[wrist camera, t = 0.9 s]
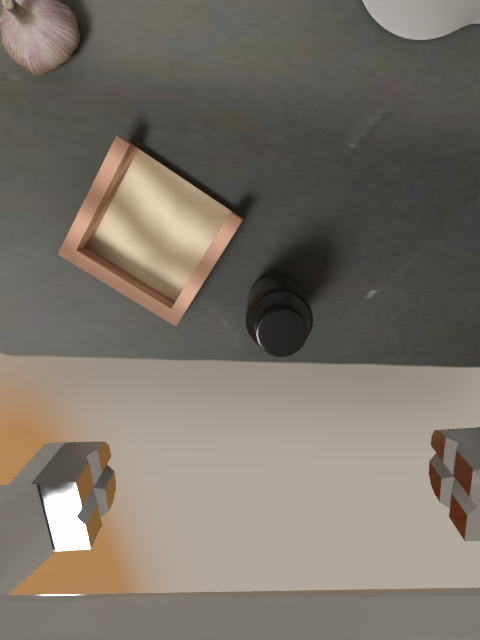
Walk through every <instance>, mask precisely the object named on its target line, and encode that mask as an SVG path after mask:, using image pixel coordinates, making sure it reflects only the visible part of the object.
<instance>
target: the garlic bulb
mask: <svg viewBox="0 0 480 640" xmlns="http://www.w3.org/2000/svg"><path fill="white" fill-rule="evenodd" d="M2 3H3V8H2V13H1V16H0V28H1V39H2V43H3V45H4V47H5V49H6V50H7V52H8V54H9V55H10V57H11V58H12V59H13V60H14V61H15V62H16V63H18V64H20V65H22V66H24V67H25V68H26V69H27V70H28V71H30V72H31V73H33V74H35V75H44V74H47V73H48V72H49V71H53V70H55V69H57V68H58V67H59V66H60V64H62V63H64V62H66V61H68V60H69V59H70V57H71V56H72V53H73V51H74V50H75V49H76V48H77V47H78V45H79V42H80V33H79V29H78V22H77V18H76V16H75V14H74V12H73V11H72V10H71V9H70V8H69V7H68V6H66V5H65V4H63V3H61V2H60V1H59V0H2Z"/></svg>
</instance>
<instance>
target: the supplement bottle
mask: <svg viewBox="0 0 480 640" xmlns="http://www.w3.org/2000/svg"><path fill="white" fill-rule="evenodd" d="M312 325H313V315H312V311H311V308H310V305H309V303H308V301H307V299H306V297H305V295H304V293H303V291H302V289H301V288H300V286H299V285H298V283H297V282H296V281H294V280H293V279H292V278H290V277H288V276H285V275H281V274H271V275H267V276H265V277H263V278H261V279H259V280H258V281H257V282H256V283H255V284H254V285H253V287H252V288H251V290H250V292H249V296H248V301H247V311H246V327H247V330H248V333H249V335H250V337H251V338H252V340H253V341H254V342H255V343H256V344H257V345H258V346H260V347H261V348H262V349H263V350H264V351H266V352H267V353H268V354H271V355H272V356H276V357H279V356H280V357H284V356H285V357H287V356H289V355H292V354H293V353H296V352H297V351H298V350H300V348H301V347H302V346H303V344H304V343H305V340H306V339H307V337H308V336H309V334H310V332H311V329H312Z"/></svg>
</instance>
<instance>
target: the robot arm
mask: <svg viewBox="0 0 480 640" xmlns="http://www.w3.org/2000/svg"><path fill="white" fill-rule="evenodd" d="M362 1H363V3H364V5H365V7H366V8H367V10H368V12H369V13H370V14H371V16H372V17H373V18H374V19H375V20H376V21H377V22H378V23H379V24H380V25H381V26H382V27H383V28H385V29H386V30H388V31H389V32H391V33H393V34H395V35H398V36H400V37H403V38H407V39H414V40H428V39H434V38H438V37H441V36H444V35H447V34H449V33H452V32H454V31H456V30H458V29H460V28H462V27H464V26H466V25H469V24H480V0H362ZM431 446H432V448H433V449H434V450H435V452H436V454H435V455H434V456H433V457H432V459H431V460H430V462H429V477H430V482H431V486H432V489H433V491H434V494H435V495H436V497H437V498H438V500H439V502H441V503H442V504H444V505H445V506H447V507H449V508H450V513H449V517H450V519H451V521H452V522H453V524H454V525H455V527H456V528H457V530H458V531H459V533H460V534H461V536H462V537H463V539H464V541H480V427H477V428H463V429H447V430H434V432H433V434H432V438H431ZM110 458H111V453H110V448H109V445H108V444H107V443H106V442H69V443H66V442H59V443H48V444H45V445H44V446H43V447H42V448H41V449H40V450H39V451H38V452H37V453H36V454H35V456H34V457H33V458H32V459H31V460H30V461H29V462H28V463H27V464H26V466H25V467H24V468H23V469H22V470H21V471H20V472H19V473H18V475H17V476H16V477H15V478H14V479H13V480H12V481H11V482H10V484H8V485H1V486H0V640H480V588H433V589H432V588H431V589H367V590H366V589H365V590H307V591H252V592H195V593H194V592H193V593H128V594H67V595H66V594H65V595H8V594H9V593H10V592H11V591H12V590H13V589H14V588H15V587H17V586H18V585H19V584H20V583H21V582H22V581H23V580H25V579H26V578H27V577H28V576H29V575H30V574H31V573H32V572H33V571H34V570H36V569H37V568H38V567H39V566H40V565H41V564H42V563H43V562H45V561H46V560H47V559H48V558H49V557H50V556H51V555H52V554H53V553H54V551H64V550H81V549H82V550H83V549H91V547H92V545H93V543H94V541H95V539H96V537H97V535H98V533H99V530H100V528H101V526H102V523H101V518H100V517H102V516H103V515H104V514H106V513H107V512H108V511H109V510H110V508H111V505H112V503H113V500H114V495H115V490H116V480H115V474H114V471H113V470H112V469H111V468H110V467H109V466H108V465H107V463H108V461H109V460H110Z"/></svg>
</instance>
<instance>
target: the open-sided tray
mask: <svg viewBox="0 0 480 640" xmlns="http://www.w3.org/2000/svg"><path fill="white" fill-rule="evenodd" d="M242 221H243V218H241V217H240V216H238V215H237V214H235V213H234V212H232V211H231V210H229V209H228V208H226V207H225V206H224V205H222V204H221V203H219V202H218V201H216V200H215V199H213V198H212V197H210V196H209V195H207V194H206V193H204V192H203V191H201V190H200V189H198V188H197V187H195V186H194V185H192V184H191V183H189V182H188V181H186V180H185V179H183V178H182V177H180V176H179V175H177V174H176V173H174V172H173V171H171V170H170V169H168V168H167V167H165V166H164V165H162V164H161V163H159V162H158V161H156V160H155V159H153V158H152V157H151V156H149V155H148V154H146V153H145V152H143V151H142V150H140V149H139V148H137V147H136V146H134V145H133V144H131V143H130V142H128V141H126V140H124V139H122V138H120V137H118V136H116V138H115V140H114V142H113V144H112V146H111V148H110V150H109V152H108V154H107V156H106V158H105V160H104V162H103V164H102V166H101V168H100V170H99V172H98V174H97V176H96V178H95V180H94V182H93V184H92V186H91V188H90V190H89V192H88V194H87V196H86V198H85V200H84V202H83V204H82V206H81V208H80V210H79V213H78V215H77V217H76V219H75V221H74V223H73V225H72V227H71V229H70V231H69V233H68V235H67V237H66V239H65V241H64V243H63V245H62V247H61V249H60V251H59V253H58V255H60V256H62V257H63V258H65V259H67V260H68V261H70V262H71V263H73V264H75V265H76V266H78V267H80V268H81V269H83V270H84V271H86V272H88V273H89V274H91V275H93V276H94V277H96V278H98V279H99V280H101V281H102V282H104V283H106V284H107V285H109V286H111V287H112V288H114V289H115V290H117V291H119V292H120V293H122V294H124V295H125V296H127V297H129V298H130V299H132V300H133V301H135V302H137V303H138V304H140V305H142V306H143V307H145V308H146V309H148V310H150V311H151V312H153V313H155V314H156V315H158V316H160V317H161V318H163V319H164V320H166V321H168V322H169V323H171V324H173V325H174V326H177V324H178V323H179V321H180V320H181V318H182V317H183V315H184V313H185V312H186V310H187V309H188V307H189V305H190V304H191V302H192V301H193V299H194V297H195V296H196V294H197V293H198V291H199V289H200V288H201V286H202V285H203V283H204V281H205V280H206V278H207V277H208V275H209V274H210V272H211V270H212V269H213V267H214V266H215V264H216V262H217V261H218V259H219V258H220V256H221V254H222V253H223V251H224V250H225V248H226V246H227V245H228V243H229V242H230V240H231V238H232V237H233V235H234V234H235V232H236V231H237V229H238V227H239V226H240V224H241V223H242Z"/></svg>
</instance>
